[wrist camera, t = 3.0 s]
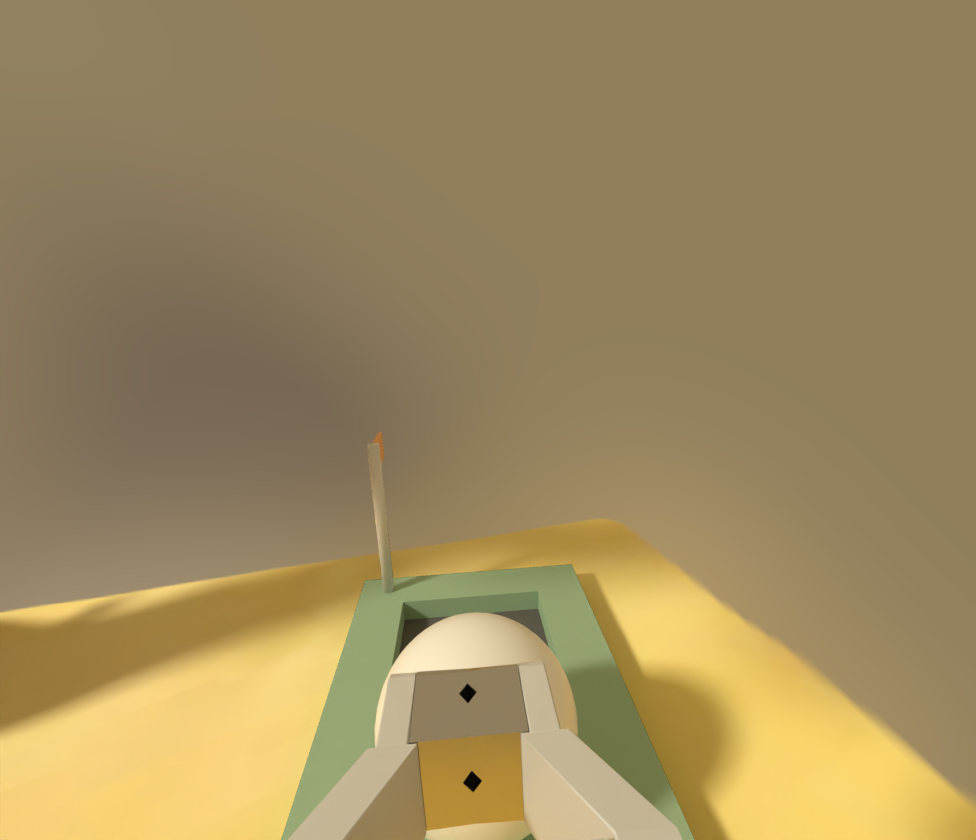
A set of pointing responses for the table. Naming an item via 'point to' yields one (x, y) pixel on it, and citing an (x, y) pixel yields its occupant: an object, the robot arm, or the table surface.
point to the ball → (471, 647)
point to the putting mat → (510, 593)
